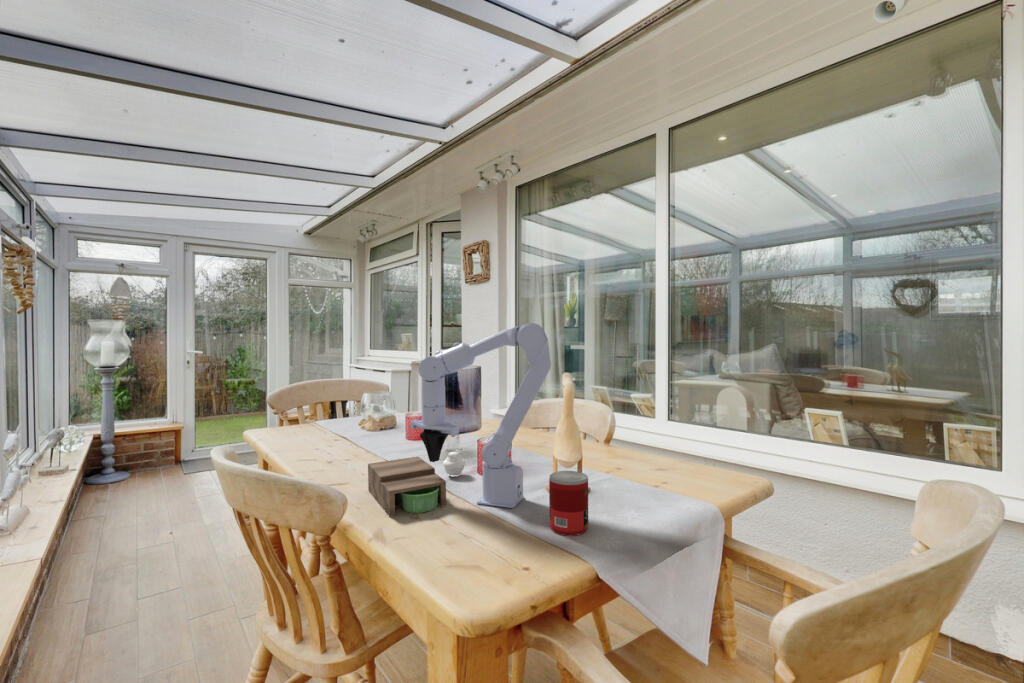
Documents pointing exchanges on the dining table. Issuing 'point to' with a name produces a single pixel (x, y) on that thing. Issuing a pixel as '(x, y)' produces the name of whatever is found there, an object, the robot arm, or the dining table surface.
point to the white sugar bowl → (454, 464)
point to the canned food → (568, 502)
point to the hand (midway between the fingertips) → (434, 460)
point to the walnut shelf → (402, 481)
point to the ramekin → (420, 500)
